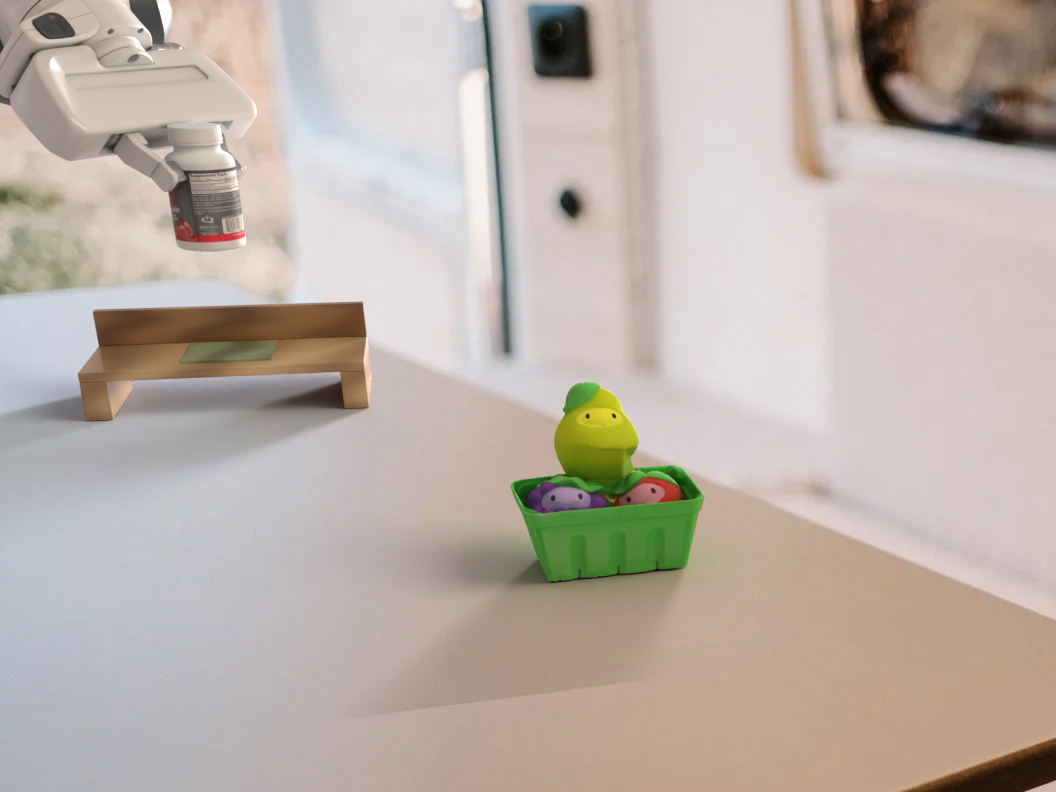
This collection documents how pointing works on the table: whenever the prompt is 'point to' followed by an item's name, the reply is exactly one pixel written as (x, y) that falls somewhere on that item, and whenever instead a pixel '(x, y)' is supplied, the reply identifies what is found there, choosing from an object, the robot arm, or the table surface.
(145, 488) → the table surface
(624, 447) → the fruit basket
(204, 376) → the bench
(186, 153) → the pill bottle
